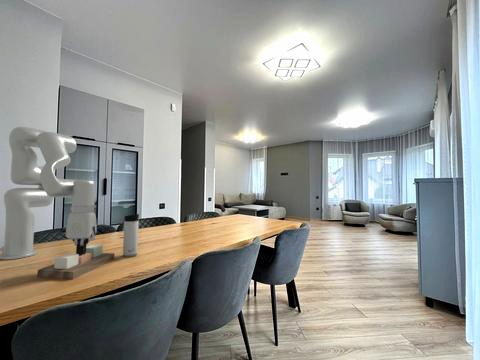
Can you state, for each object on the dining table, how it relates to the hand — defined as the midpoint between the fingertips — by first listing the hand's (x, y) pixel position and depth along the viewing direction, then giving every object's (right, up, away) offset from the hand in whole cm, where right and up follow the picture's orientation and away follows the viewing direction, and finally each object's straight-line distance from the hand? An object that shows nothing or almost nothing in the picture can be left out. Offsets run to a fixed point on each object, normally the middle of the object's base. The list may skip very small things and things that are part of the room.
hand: (81, 254), depth 88 cm
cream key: (-1, -2, -7) cm, 7 cm away
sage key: (0, -3, +6) cm, 7 cm away
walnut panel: (0, -5, 0) cm, 5 cm away
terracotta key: (0, -4, 0) cm, 4 cm away
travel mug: (+12, -6, +16) cm, 21 cm away
